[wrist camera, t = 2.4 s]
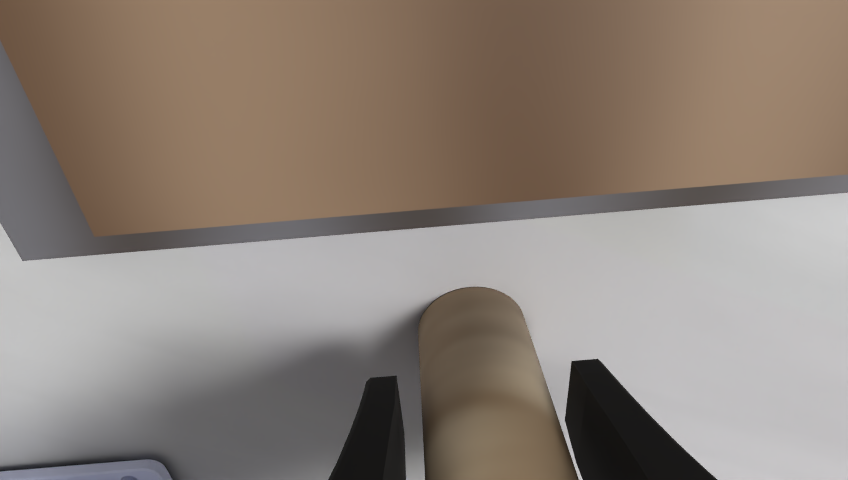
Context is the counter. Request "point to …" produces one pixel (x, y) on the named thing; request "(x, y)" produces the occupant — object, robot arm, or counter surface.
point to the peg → (486, 393)
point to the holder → (403, 114)
